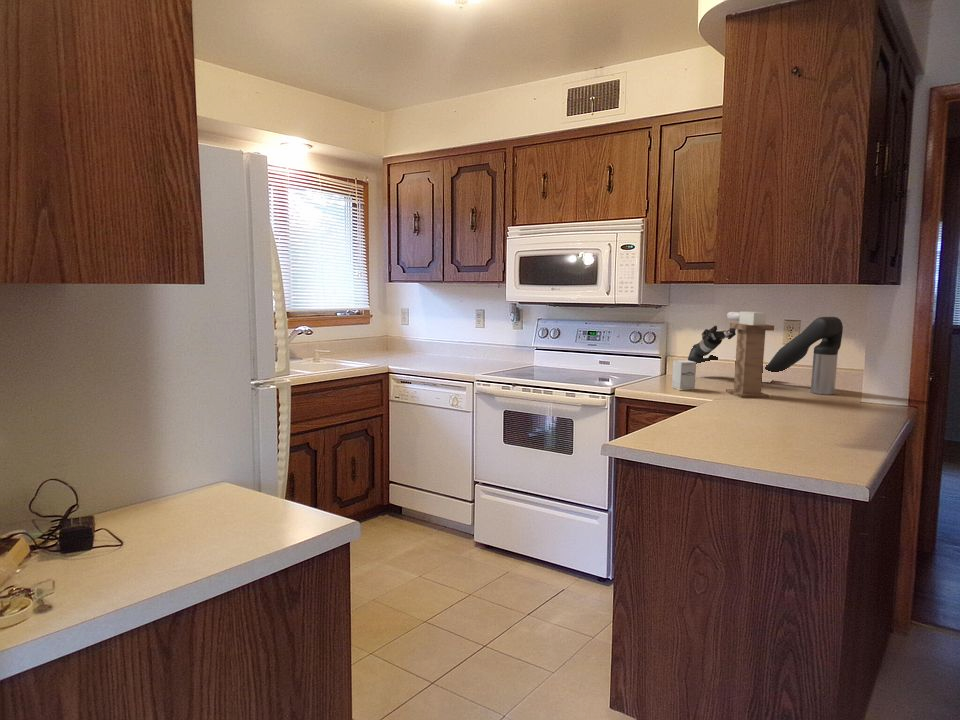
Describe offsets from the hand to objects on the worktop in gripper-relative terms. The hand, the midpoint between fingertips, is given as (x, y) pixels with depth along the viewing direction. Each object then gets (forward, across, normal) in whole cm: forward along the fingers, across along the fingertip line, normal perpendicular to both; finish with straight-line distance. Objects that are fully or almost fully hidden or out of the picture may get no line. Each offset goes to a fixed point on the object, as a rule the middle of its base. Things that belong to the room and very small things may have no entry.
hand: (725, 327), depth 295 cm
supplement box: (-5, +22, -28) cm, 36 cm away
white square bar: (+16, 0, -6) cm, 17 cm away
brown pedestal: (+7, 0, -35) cm, 36 cm away
